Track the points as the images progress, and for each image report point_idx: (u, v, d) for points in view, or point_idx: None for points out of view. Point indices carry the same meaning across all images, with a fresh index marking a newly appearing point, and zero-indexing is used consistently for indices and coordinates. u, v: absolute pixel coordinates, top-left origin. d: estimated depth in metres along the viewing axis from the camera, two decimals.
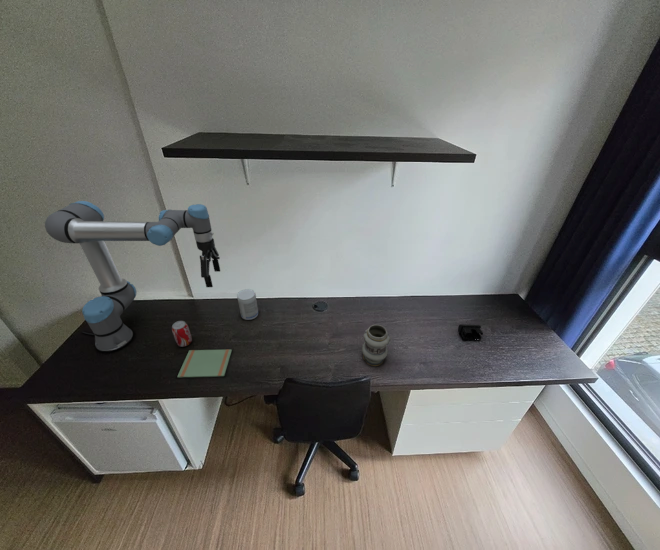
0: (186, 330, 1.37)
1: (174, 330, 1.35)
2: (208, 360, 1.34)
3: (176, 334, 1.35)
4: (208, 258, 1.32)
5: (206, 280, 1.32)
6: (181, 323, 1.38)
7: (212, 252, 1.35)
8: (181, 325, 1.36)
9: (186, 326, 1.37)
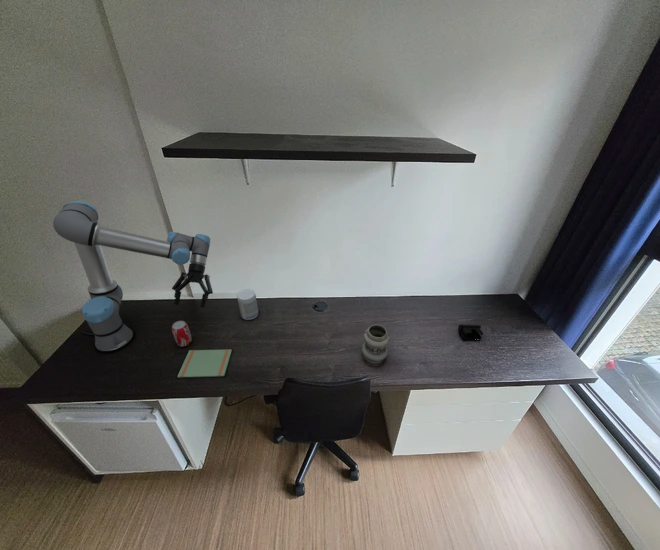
0: (186, 330, 1.37)
1: (174, 330, 1.35)
2: (208, 360, 1.34)
3: (176, 334, 1.35)
4: None
5: (207, 298, 1.44)
6: (181, 323, 1.38)
7: None
8: (181, 325, 1.36)
9: (186, 326, 1.37)
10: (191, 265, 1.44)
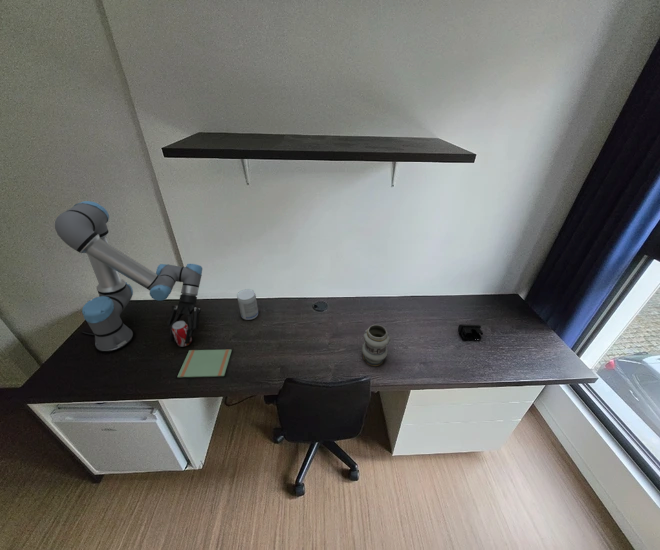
0: (186, 330, 1.37)
1: (174, 330, 1.35)
2: (208, 360, 1.34)
3: (176, 334, 1.35)
4: (191, 312, 1.42)
5: (192, 334, 1.38)
6: (181, 323, 1.38)
7: None
8: (181, 325, 1.36)
9: (186, 326, 1.37)
10: (182, 297, 1.39)
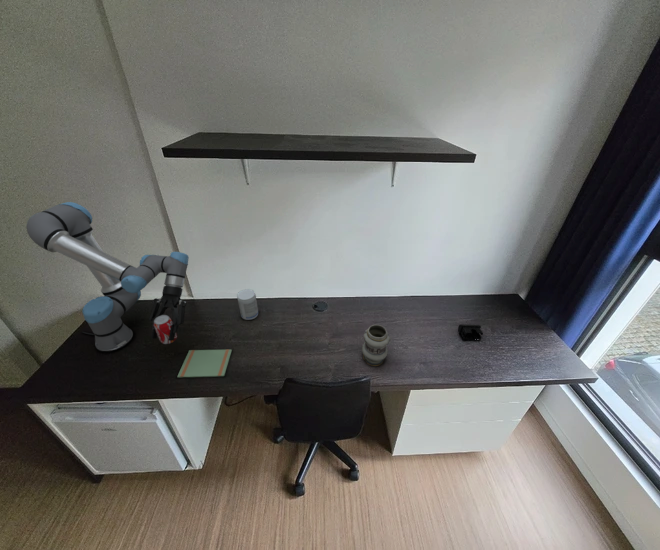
0: (170, 325, 1.23)
1: (156, 325, 1.20)
2: (208, 360, 1.34)
3: (158, 330, 1.21)
4: (176, 306, 1.27)
5: (176, 329, 1.24)
6: (164, 318, 1.23)
7: None
8: (164, 320, 1.22)
9: (170, 321, 1.23)
10: (165, 288, 1.25)
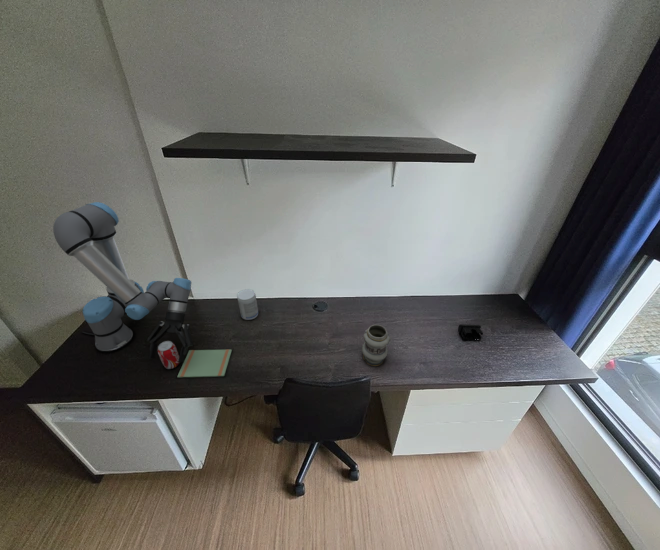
0: (173, 351, 1.26)
1: (160, 352, 1.24)
2: (208, 360, 1.34)
3: (162, 356, 1.24)
4: None
5: (186, 351, 1.28)
6: (168, 344, 1.27)
7: None
8: (168, 346, 1.26)
9: (173, 347, 1.27)
10: (168, 314, 1.28)
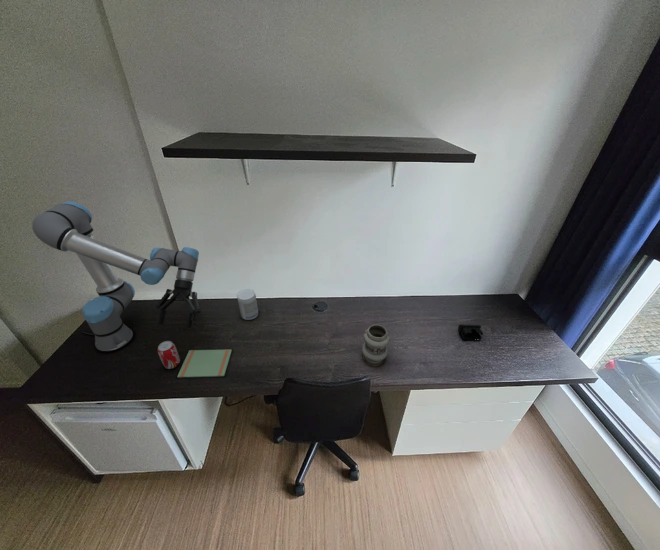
0: (173, 351, 1.26)
1: (160, 352, 1.24)
2: (208, 360, 1.34)
3: (162, 356, 1.24)
4: (186, 298, 1.34)
5: (194, 317, 1.31)
6: (168, 344, 1.27)
7: None
8: (168, 346, 1.26)
9: (173, 347, 1.27)
10: (177, 281, 1.32)
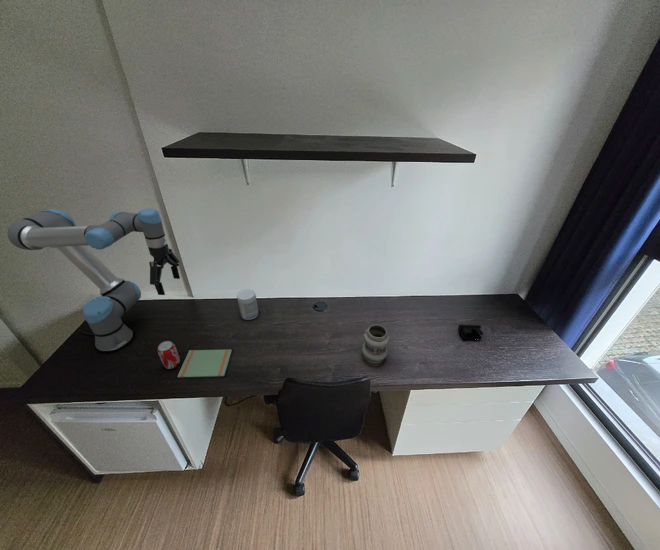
0: (173, 351, 1.26)
1: (160, 352, 1.24)
2: (208, 360, 1.34)
3: (162, 356, 1.24)
4: None
5: (156, 287, 1.26)
6: (168, 344, 1.27)
7: (167, 259, 1.29)
8: (168, 346, 1.26)
9: (173, 347, 1.27)
10: None
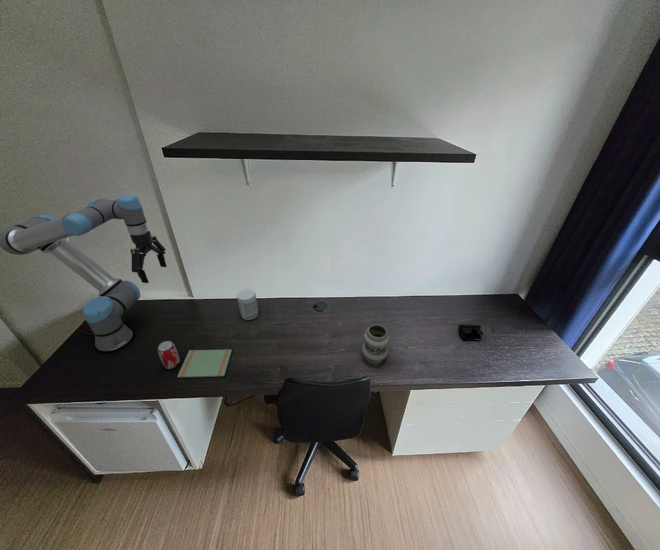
0: (173, 351, 1.26)
1: (160, 352, 1.24)
2: (208, 360, 1.34)
3: (162, 356, 1.24)
4: None
5: (139, 275, 1.25)
6: (168, 344, 1.27)
7: (150, 246, 1.28)
8: (168, 346, 1.26)
9: (173, 347, 1.27)
10: None
